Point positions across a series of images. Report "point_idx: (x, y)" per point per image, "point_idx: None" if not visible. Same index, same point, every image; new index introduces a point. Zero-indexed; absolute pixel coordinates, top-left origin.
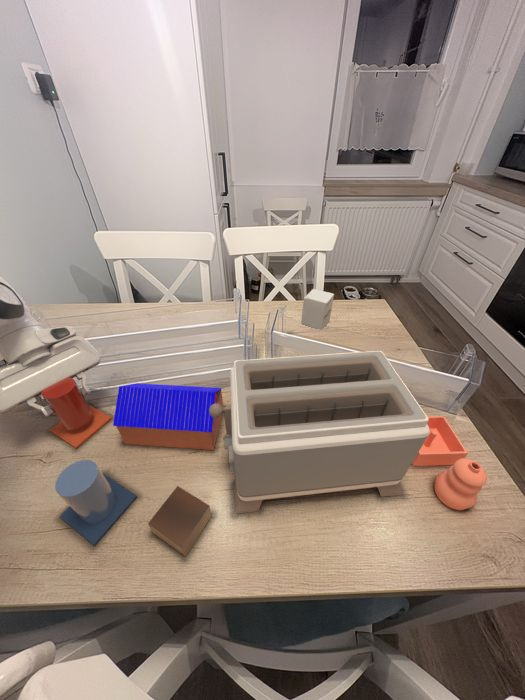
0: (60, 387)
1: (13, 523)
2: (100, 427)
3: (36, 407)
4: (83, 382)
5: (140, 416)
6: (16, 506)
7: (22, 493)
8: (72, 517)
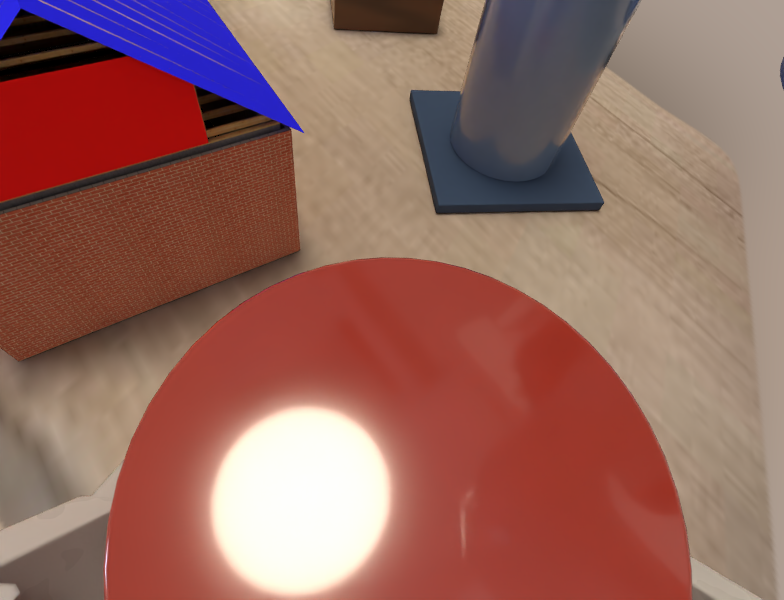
0: (395, 446)
1: (728, 308)
2: None
3: (712, 569)
4: (67, 522)
5: (188, 15)
6: (721, 359)
7: (700, 393)
8: (574, 172)
